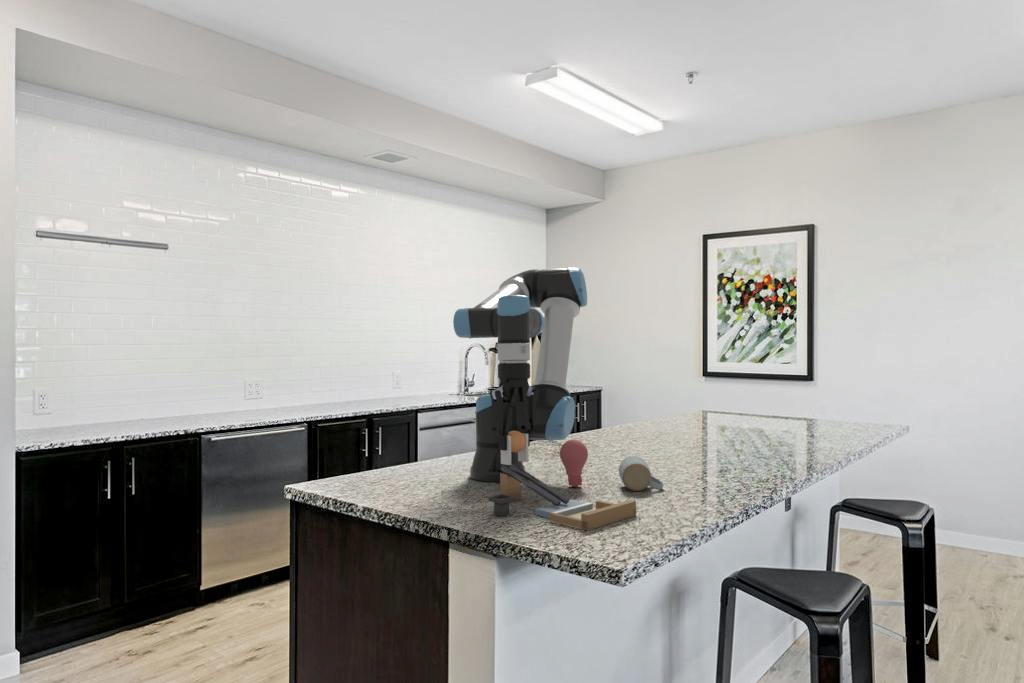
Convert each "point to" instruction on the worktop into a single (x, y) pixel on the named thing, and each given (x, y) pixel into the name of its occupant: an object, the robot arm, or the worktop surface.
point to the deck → (564, 508)
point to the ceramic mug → (637, 474)
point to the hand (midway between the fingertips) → (514, 462)
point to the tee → (501, 504)
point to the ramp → (527, 485)
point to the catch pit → (597, 515)
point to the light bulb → (574, 460)
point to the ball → (517, 441)
